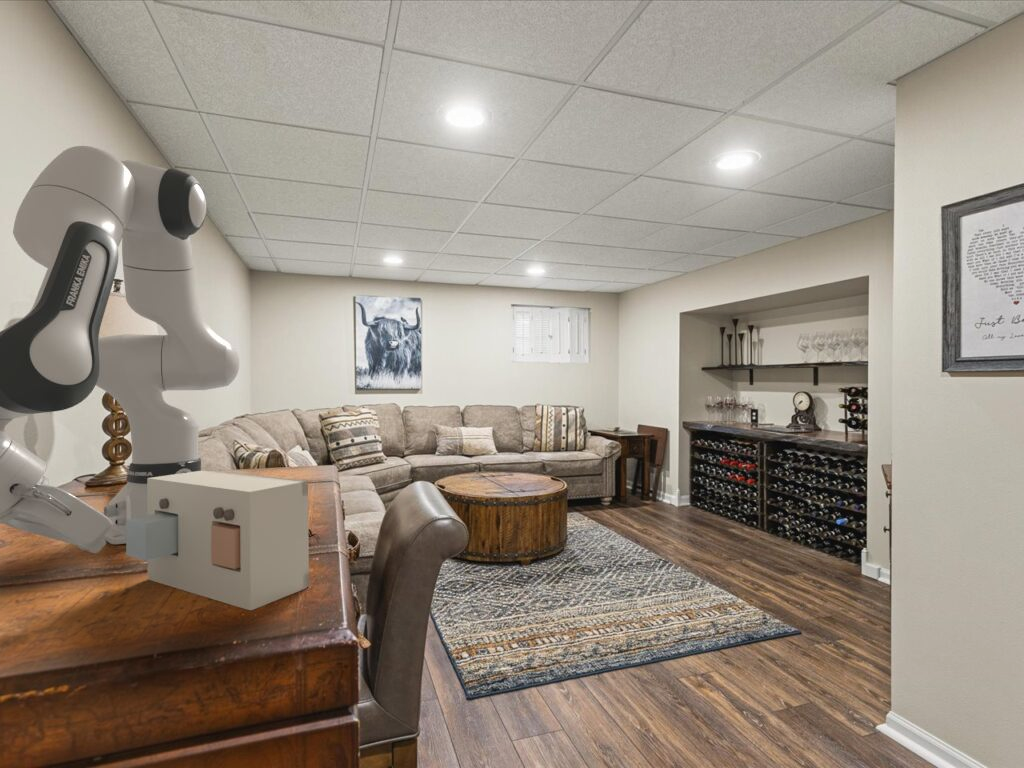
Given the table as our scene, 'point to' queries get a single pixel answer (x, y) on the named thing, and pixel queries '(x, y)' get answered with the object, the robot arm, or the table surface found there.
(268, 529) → the block
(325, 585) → the table surface
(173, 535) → the button one
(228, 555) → the button two
